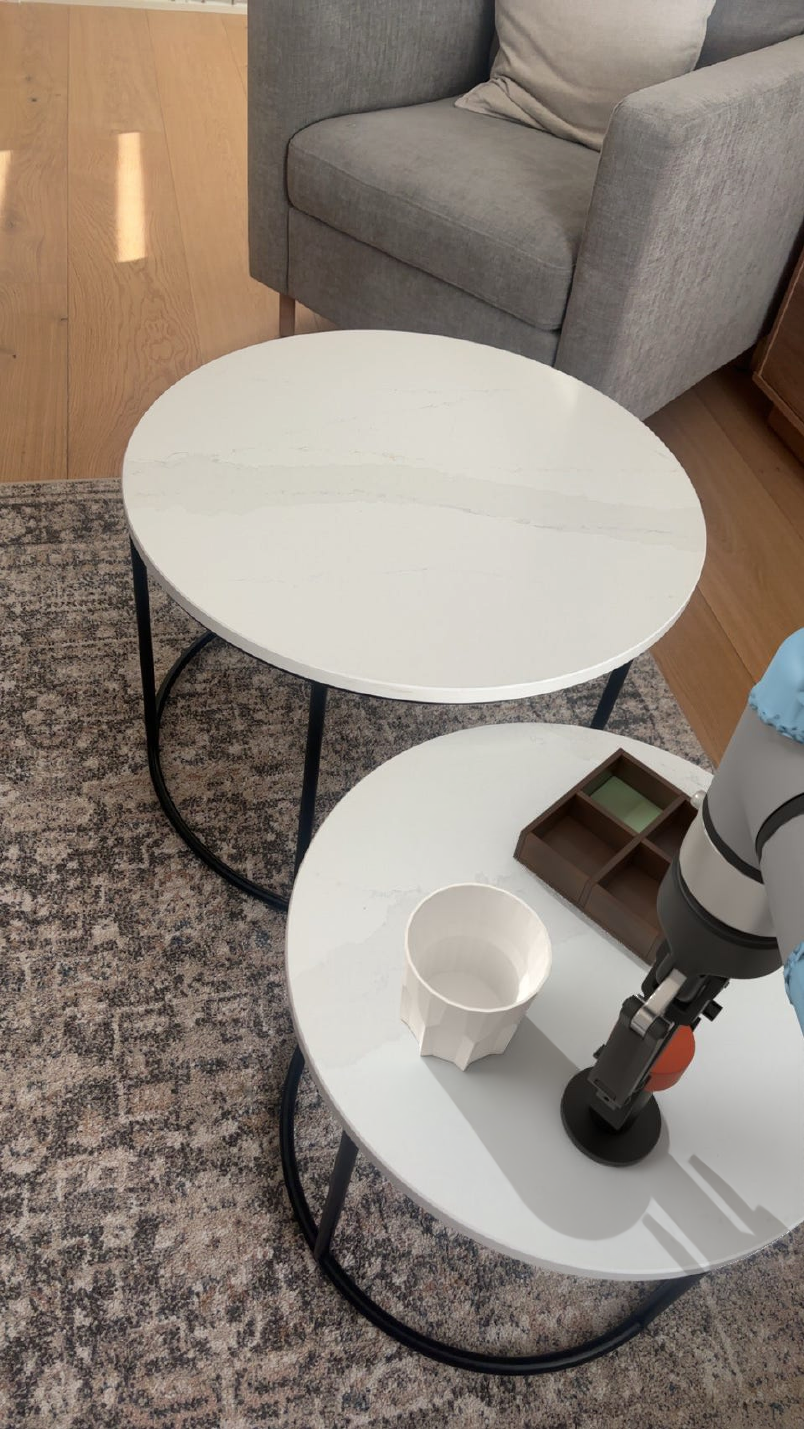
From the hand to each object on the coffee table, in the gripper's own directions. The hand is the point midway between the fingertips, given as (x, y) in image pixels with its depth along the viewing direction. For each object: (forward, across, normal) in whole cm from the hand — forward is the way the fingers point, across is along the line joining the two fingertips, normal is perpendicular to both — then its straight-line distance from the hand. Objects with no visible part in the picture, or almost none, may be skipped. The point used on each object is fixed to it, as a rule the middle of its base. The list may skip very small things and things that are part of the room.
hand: (629, 1082), depth 73 cm
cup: (+6, +2, -12) cm, 14 cm away
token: (-4, 0, 0) cm, 4 cm away
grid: (+5, -19, -12) cm, 23 cm away
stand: (+5, 0, 0) cm, 5 cm away
